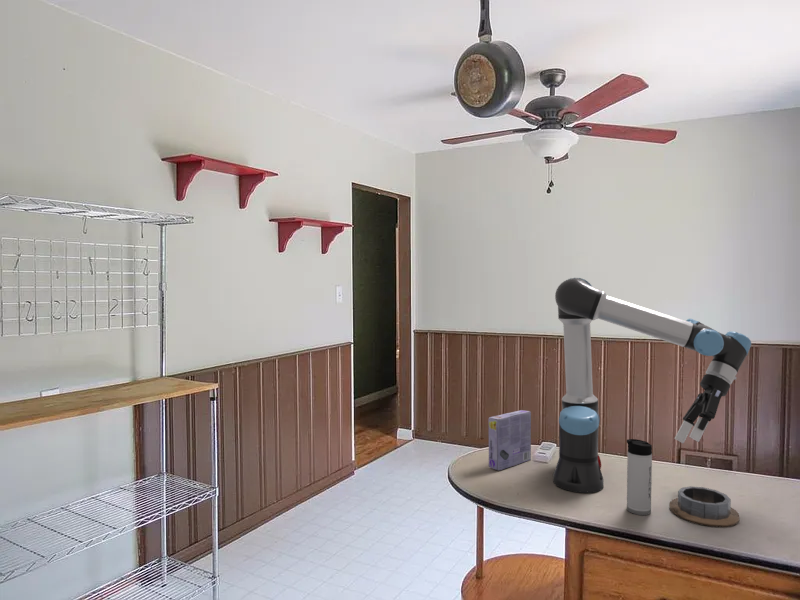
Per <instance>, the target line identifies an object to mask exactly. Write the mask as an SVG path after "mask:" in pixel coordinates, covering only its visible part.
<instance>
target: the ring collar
mask: <svg viewBox="0 0 800 600" xmlns="http://www.w3.org/2000/svg"><path fill="white" fill-rule="evenodd" d="M731 503H732V500H731V498H730V497H729V496H728V495H727V494H726V493H723V492H721V491H719V490H717V489H713V488H708V487H705V486H704V487H703V486H692V485H691V486H684V487H681V488H680V489H679V490H678V491H677V497H676V498H673V499H671V501H670V502H669V507H668V508H669V510H670V512H671V513H672V514H673V515H675V516H676V517H677V518H679V519H682V520H684V521H686V522H689V523H692V524H696V525H700V526H704V527H709V528H710V527H712V528H727V527H734V526H737V525H738V524H739V522H740V513H739V512H738V510H736V509H734V507H732V506H731Z"/></svg>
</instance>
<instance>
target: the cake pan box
mask: <svg viewBox="0 0 800 600" xmlns="http://www.w3.org/2000/svg"><path fill="white" fill-rule="evenodd" d="M531 415H532V412H531V410H523V409H520V410H515V411H512V412H507V413H502V414H498V415H493V416H490V417H489V416H488V468H490V469H493V470H494V471H497V472H499V471H502V470H505V469H507V468H512V467H516V466H519V464H523V463H526V462H528V461H531V460H532V458H531V457H532V456H531V455H532V454H531V453H532V451H531V450H532V435H531V434H532V431H531V430H532V426H531V425H532V423H531V422H532V418H531V417H532V416H531Z"/></svg>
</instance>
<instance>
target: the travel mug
mask: <svg viewBox="0 0 800 600" xmlns="http://www.w3.org/2000/svg"><path fill="white" fill-rule="evenodd" d="M626 444H627V465H626V466H627V469H626V470H627V472H626V476H627V477H626V510H627V511H628V512H629V513H632V514H634V515H637V516H647V515H650V514H651V513H652V483H653V482H652V481H653V480H652V477H653V475H652V474H653V473H652V472H653V451H652V450H653V446H652V444H651V443H649V442H648V441H645V440H641V439H636V438H630V439H626Z"/></svg>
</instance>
